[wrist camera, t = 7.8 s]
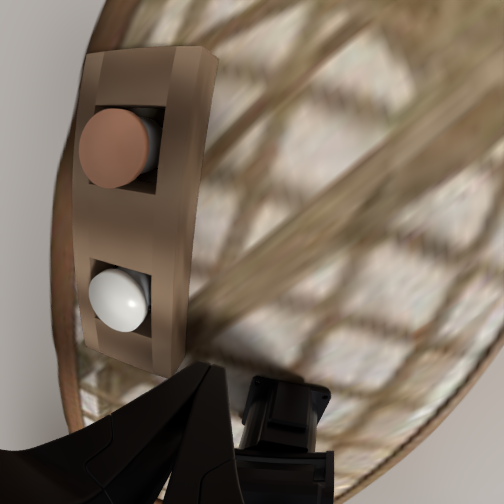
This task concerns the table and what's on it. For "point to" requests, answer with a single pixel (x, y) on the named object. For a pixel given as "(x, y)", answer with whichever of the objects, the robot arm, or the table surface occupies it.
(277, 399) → the robot arm
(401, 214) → the table surface
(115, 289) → the white domed knob
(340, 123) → the table surface
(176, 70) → the walnut panel
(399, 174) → the table surface
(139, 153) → the terracotta plunger
